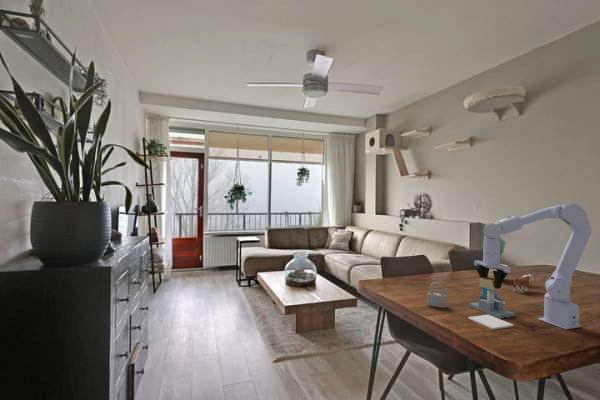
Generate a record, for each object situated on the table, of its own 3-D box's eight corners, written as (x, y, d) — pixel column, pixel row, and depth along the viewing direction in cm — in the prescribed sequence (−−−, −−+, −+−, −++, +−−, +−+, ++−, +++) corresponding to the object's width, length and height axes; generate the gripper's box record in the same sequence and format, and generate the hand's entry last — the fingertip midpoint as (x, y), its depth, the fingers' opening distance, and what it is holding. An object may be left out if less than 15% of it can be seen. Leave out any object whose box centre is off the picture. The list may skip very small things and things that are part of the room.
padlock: (445, 305, 129) (446, 282, 129) (445, 308, 125) (446, 284, 125) (427, 303, 132) (428, 280, 132) (427, 305, 128) (427, 282, 128)
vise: (521, 315, 119) (521, 294, 119) (499, 318, 115) (499, 296, 115) (489, 303, 132) (489, 284, 132) (468, 306, 129) (468, 286, 129)
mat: (513, 326, 108) (513, 324, 108) (492, 329, 105) (492, 327, 105) (488, 316, 118) (488, 314, 118) (468, 318, 115) (468, 317, 115)
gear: (493, 300, 131) (477, 280, 138) (482, 307, 134) (467, 287, 141) (504, 299, 138) (488, 280, 144) (493, 306, 141) (478, 287, 147)
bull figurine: (536, 291, 153) (536, 274, 153) (518, 293, 148) (518, 276, 148) (526, 288, 157) (527, 272, 157) (509, 291, 152) (509, 274, 152)
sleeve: (502, 288, 122) (502, 280, 122) (492, 289, 120) (492, 281, 120) (490, 285, 127) (490, 276, 127) (479, 286, 125) (480, 277, 125)
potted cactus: (513, 283, 168) (514, 237, 168) (482, 280, 171) (483, 236, 171) (502, 276, 183) (502, 234, 183) (473, 274, 186) (474, 233, 186)
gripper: (468, 250, 129) (468, 282, 129) (501, 256, 115) (500, 292, 115) (481, 249, 131) (481, 281, 131) (514, 255, 117) (514, 291, 117)
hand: (491, 286), depth 123 cm, fingers closed on sleeve, 5 cm apart
